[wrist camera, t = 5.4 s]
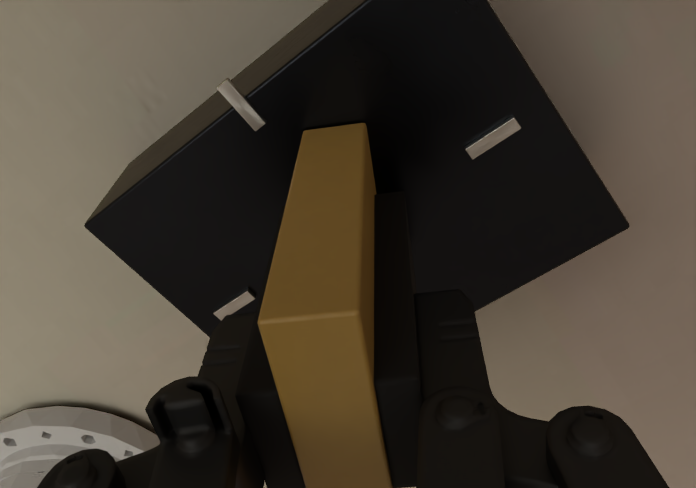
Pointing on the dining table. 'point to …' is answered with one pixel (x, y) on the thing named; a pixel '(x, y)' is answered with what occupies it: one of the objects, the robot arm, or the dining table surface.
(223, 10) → the dining table surface
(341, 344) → the yellow rectangular block
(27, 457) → the mechanical component
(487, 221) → the socket block
